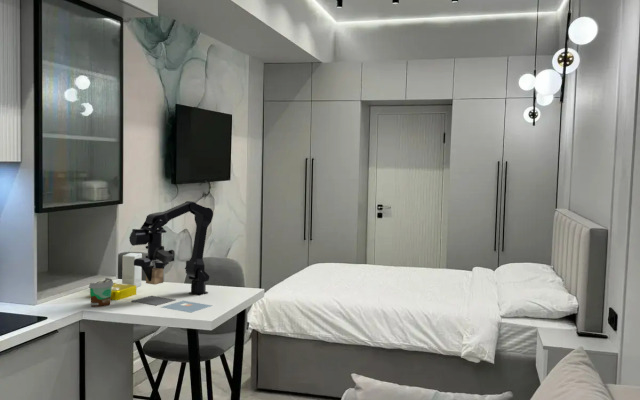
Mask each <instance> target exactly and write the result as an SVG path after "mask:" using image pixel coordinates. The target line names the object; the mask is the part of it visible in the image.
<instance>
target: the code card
mask: <svg viewBox="0 0 640 400" xmlns="http://www.w3.org/2000/svg"><path fill="white" fill-rule="evenodd" d="M210 307H213V305H211V304H205V303H200V302H193V301H187V300H180V301H178V302H174V303H169V304H166V305H163V306H161V308H162V309H167V310H172V311H178V312H185V313H194V312H198V311H200V310H204V309H206V308H210Z"/></svg>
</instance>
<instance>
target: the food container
mask: <svg viewBox="0 0 640 400" xmlns="http://www.w3.org/2000/svg"><path fill="white" fill-rule="evenodd" d="M113 283H114V281H113V279H112V278H109V277H105V279H104V280H101V281H97V282H90V283H89V285H88V288H89V297H90V296H91V298H90V308H101V307H107V306H110V305H111V301H112V300H111V290H112V286H113V285H114V284H113Z"/></svg>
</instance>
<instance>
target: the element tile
mask: <svg viewBox="0 0 640 400" xmlns="http://www.w3.org/2000/svg"><path fill="white" fill-rule="evenodd" d="M113 284H114V285H113V286H112V290H111V301H122V300H124V299H127V298H130V297H133V296H135V295H137V287H136V285H130V284H122V283H118V282H113ZM89 297H90V299H91V296H90V295H89Z"/></svg>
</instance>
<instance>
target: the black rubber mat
mask: <svg viewBox="0 0 640 400" xmlns="http://www.w3.org/2000/svg"><path fill="white" fill-rule="evenodd" d="M175 301H176V298H175V299H174V298H169V297H168V298H167V297H164V296H163V297H161V296H156V295H149V296H145V297H140V298H137V299H133V300H131V303H139V304H143V305H144V304H145V305H149V306H155V307H156V306H161V305H164V304H168V303H171V302H175Z"/></svg>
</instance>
